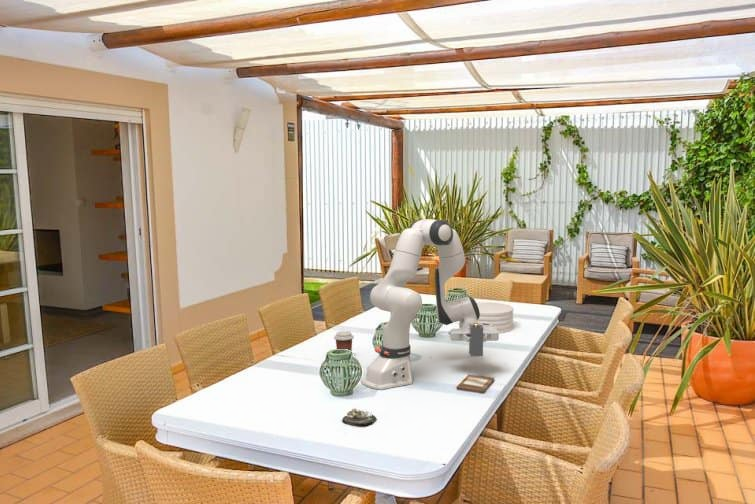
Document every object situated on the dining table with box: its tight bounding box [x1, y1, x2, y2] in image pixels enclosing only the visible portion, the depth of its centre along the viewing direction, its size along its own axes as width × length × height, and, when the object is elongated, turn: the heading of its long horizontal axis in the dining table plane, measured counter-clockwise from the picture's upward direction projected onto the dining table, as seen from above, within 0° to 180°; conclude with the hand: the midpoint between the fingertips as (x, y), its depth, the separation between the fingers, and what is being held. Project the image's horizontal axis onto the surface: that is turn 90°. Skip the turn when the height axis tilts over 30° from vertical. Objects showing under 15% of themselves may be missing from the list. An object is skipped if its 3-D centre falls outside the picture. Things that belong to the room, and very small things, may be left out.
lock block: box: [468, 323, 484, 357], centre depth 245 cm, size 5×5×13 cm
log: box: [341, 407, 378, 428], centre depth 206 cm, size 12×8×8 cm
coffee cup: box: [333, 330, 355, 351], centre depth 277 cm, size 9×9×12 cm
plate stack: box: [476, 301, 514, 335], centre depth 329 cm, size 28×28×12 cm
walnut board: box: [456, 373, 495, 394], centre depth 239 cm, size 16×11×1 cm
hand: (476, 339), depth 244 cm, fingers closed on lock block, 5 cm apart
